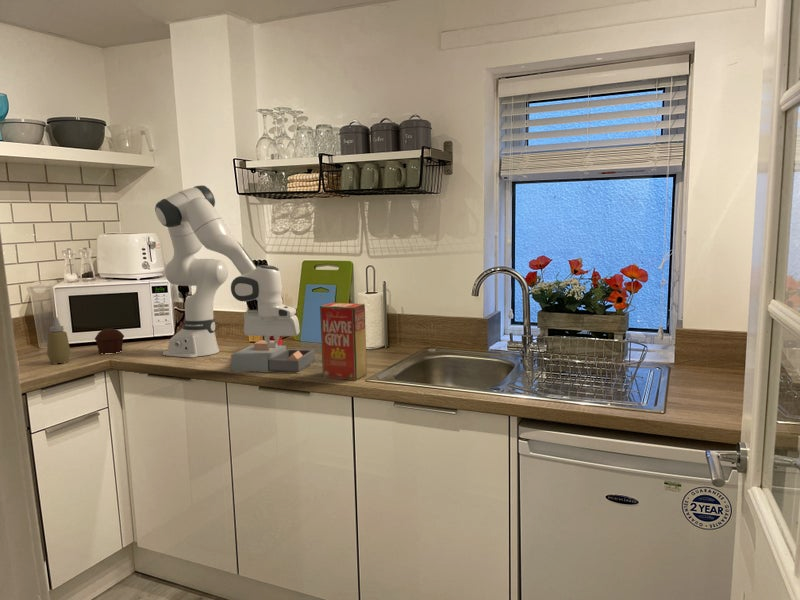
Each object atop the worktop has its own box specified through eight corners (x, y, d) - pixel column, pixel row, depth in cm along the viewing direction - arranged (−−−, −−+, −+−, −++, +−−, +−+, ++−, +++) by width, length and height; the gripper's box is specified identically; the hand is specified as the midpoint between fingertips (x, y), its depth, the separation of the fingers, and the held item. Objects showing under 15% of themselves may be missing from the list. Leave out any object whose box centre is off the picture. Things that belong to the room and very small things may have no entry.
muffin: (92, 352, 260) (90, 329, 259) (119, 348, 268) (117, 325, 266) (101, 356, 252) (99, 332, 250) (129, 352, 259) (127, 329, 258)
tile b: (254, 349, 230) (253, 343, 229) (260, 346, 236) (260, 340, 235) (269, 350, 229) (269, 343, 228) (275, 346, 235) (275, 340, 234)
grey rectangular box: (231, 371, 223) (230, 354, 222) (252, 359, 240) (251, 344, 240) (268, 372, 220) (267, 355, 219) (286, 360, 238) (285, 345, 237)
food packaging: (321, 377, 211) (318, 305, 208) (334, 371, 220) (331, 302, 216) (356, 380, 206) (354, 307, 203) (368, 374, 215) (366, 303, 211)
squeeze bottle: (45, 363, 241) (40, 317, 239) (67, 359, 247) (63, 315, 245) (52, 366, 236) (47, 319, 234) (74, 362, 242) (70, 317, 240)
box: (269, 372, 220) (268, 359, 219) (287, 360, 238) (287, 349, 237) (298, 373, 218) (298, 360, 217) (315, 361, 236) (314, 350, 235)
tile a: (292, 353, 219) (297, 359, 219) (298, 350, 225) (302, 355, 225) (281, 364, 220) (285, 369, 220) (286, 360, 226) (291, 365, 226)
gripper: (239, 311, 220) (241, 349, 222) (294, 311, 217) (295, 350, 219) (247, 308, 227) (249, 345, 228) (300, 309, 223) (301, 346, 225)
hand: (272, 347), depth 224 cm, fingers closed
